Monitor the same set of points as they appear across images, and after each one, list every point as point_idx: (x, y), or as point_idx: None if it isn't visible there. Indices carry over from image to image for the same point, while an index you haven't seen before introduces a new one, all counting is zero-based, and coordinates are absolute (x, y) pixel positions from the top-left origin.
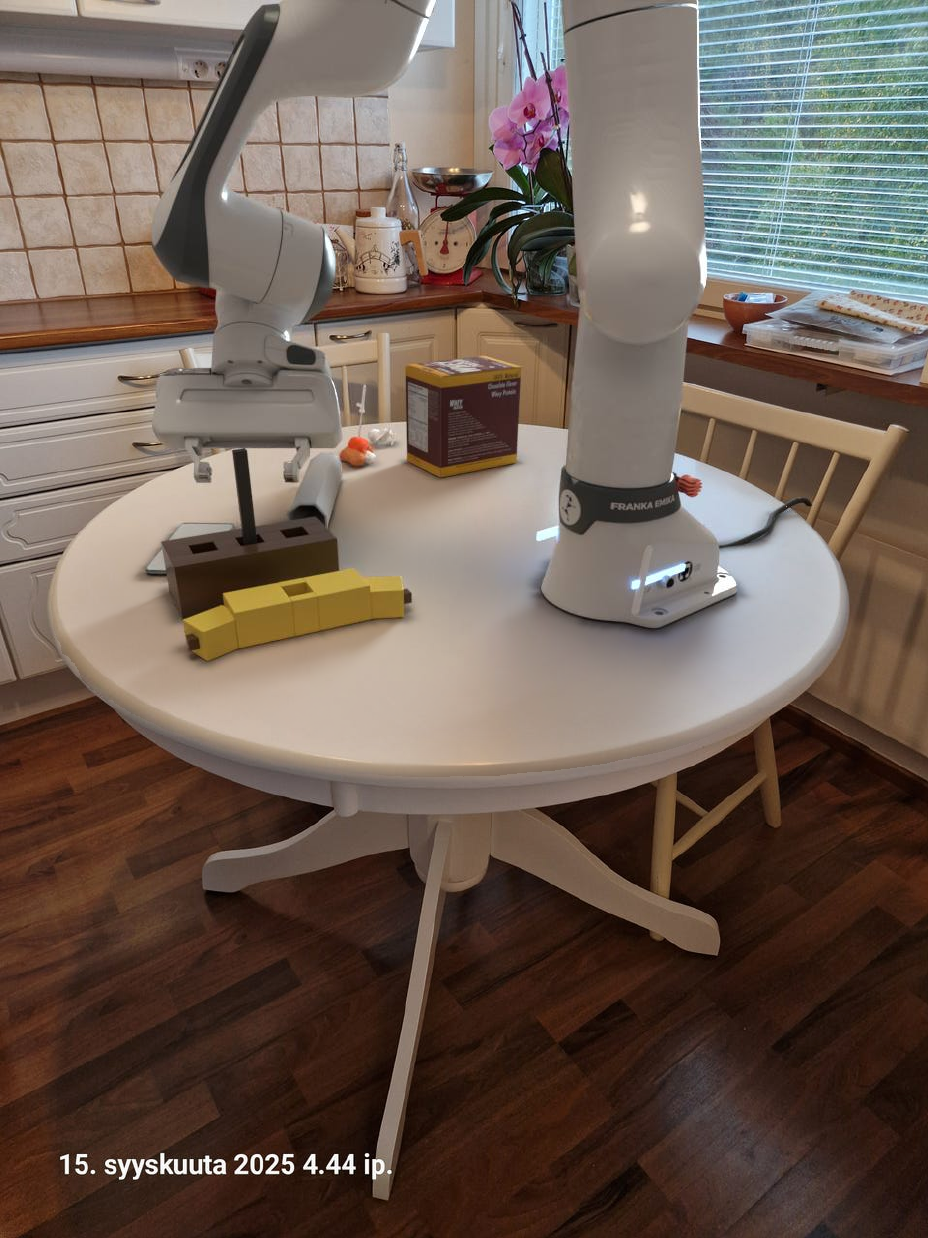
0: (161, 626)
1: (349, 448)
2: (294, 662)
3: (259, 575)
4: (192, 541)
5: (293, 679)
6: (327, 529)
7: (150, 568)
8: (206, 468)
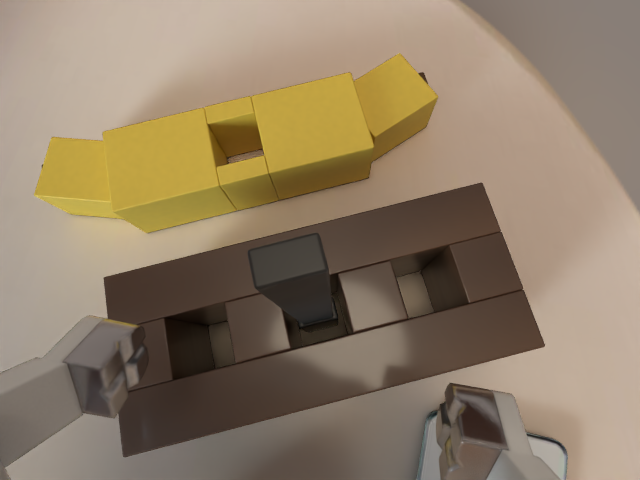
0: None
1: None
2: (271, 67)
3: None
4: (461, 326)
5: (276, 29)
6: None
7: (555, 452)
8: (462, 407)
